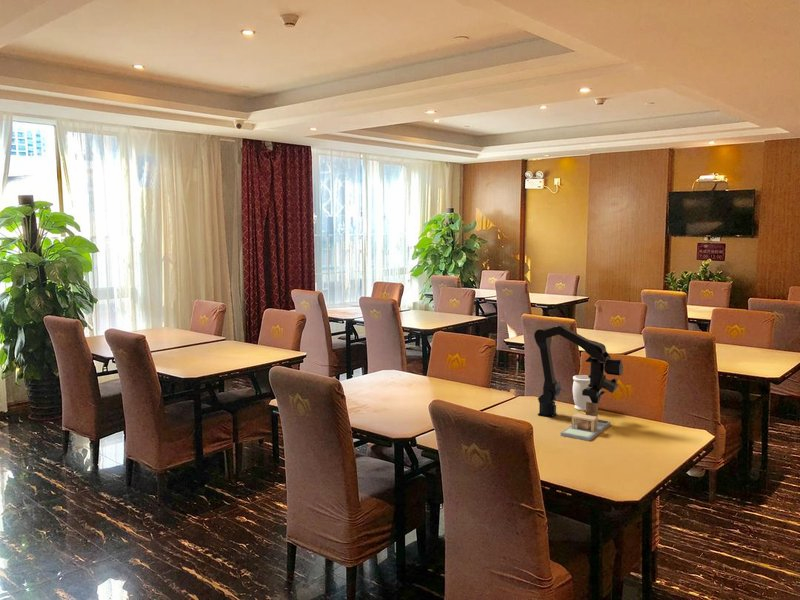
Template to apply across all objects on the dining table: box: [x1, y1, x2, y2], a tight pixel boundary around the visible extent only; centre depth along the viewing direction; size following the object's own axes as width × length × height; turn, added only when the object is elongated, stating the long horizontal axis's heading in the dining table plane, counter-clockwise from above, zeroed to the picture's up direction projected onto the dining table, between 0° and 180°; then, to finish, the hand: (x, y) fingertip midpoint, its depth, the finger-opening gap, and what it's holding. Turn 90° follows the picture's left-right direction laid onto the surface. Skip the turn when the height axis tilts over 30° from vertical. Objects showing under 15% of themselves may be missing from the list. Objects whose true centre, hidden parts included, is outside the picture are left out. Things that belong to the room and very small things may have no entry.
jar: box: [572, 374, 592, 412], centre depth 302 cm, size 11×10×15 cm
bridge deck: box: [560, 412, 611, 442], centre depth 272 cm, size 12×26×6 cm, turn 144°
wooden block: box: [577, 402, 599, 430], centre depth 273 cm, size 5×11×9 cm, turn 144°
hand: (595, 408), depth 281 cm, fingers closed
